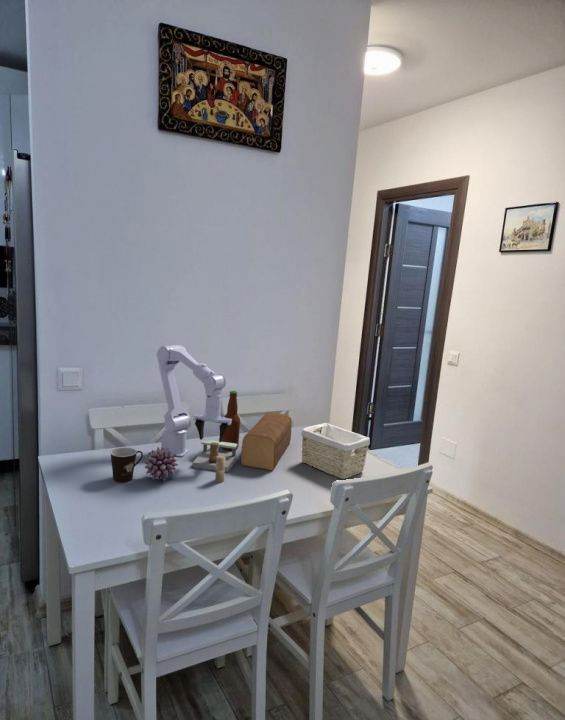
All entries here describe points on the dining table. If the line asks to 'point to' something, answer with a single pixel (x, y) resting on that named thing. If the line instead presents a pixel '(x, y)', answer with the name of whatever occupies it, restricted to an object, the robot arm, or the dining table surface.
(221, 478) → the maple peg
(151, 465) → the spiky ball
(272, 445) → the bread
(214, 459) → the walnut peg
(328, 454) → the storage basket
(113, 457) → the coffee mug
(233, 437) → the bottle
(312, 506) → the dining table surface
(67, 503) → the dining table surface
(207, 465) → the socket board
